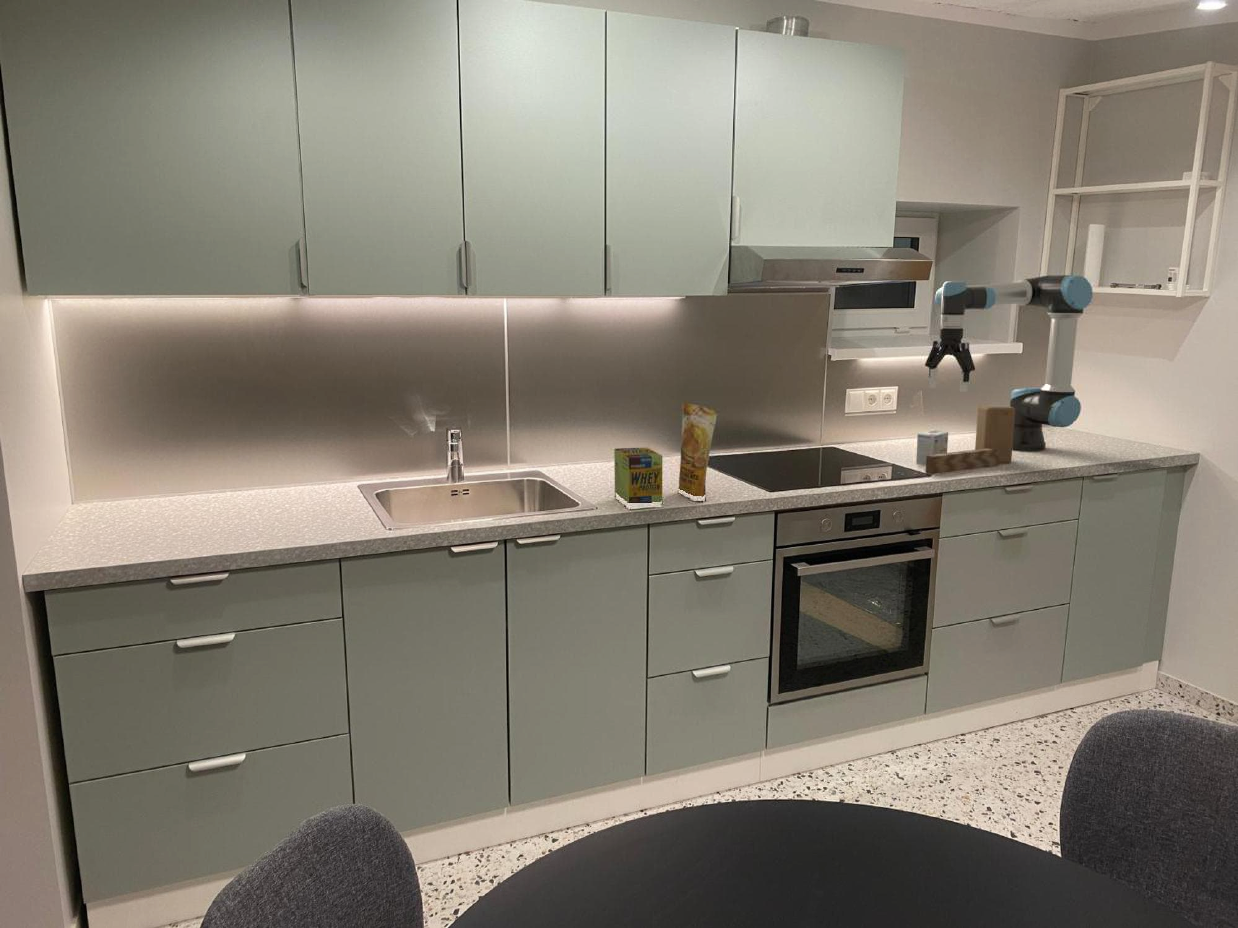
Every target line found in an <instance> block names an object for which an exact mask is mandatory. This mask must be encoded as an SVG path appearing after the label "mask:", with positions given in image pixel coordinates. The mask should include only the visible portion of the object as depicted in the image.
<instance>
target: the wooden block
mask: <svg viewBox="0 0 1238 928" xmlns="http://www.w3.org/2000/svg"><path fill="white" fill-rule="evenodd" d="M976 417H977V418H976V429H975V430H976V433H975V443H974V444H975V446H974V448H975V449H974V450H977V449H985V448H996V449H999V457H998V465H999V464H1011V462H1012V459H1013V450H1012V446H1013V433H1014V420H1015V408H1013V407H1011V406H1010V405H1007V404H1004V403H981V404H978V406H977V416H976Z"/></svg>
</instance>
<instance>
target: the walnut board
mask: <svg viewBox="0 0 1238 928" xmlns="http://www.w3.org/2000/svg"><path fill="white" fill-rule="evenodd" d="M998 457H999V449H996V448H985V449H977V450H975V449H970V450H962V451H959V450H958V451H952V452H947V453H942V454H934V455H927V456H926V464H925V474H928V473H930V474H929V475H938V474H937V473H940V474H945V473H946V474H947V473H953V472H954V473H955V472H960V471H969V470H971V471H972V470H977V469H978V468H979V469H986V468H993V467H998V466H999V464H998Z"/></svg>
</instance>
